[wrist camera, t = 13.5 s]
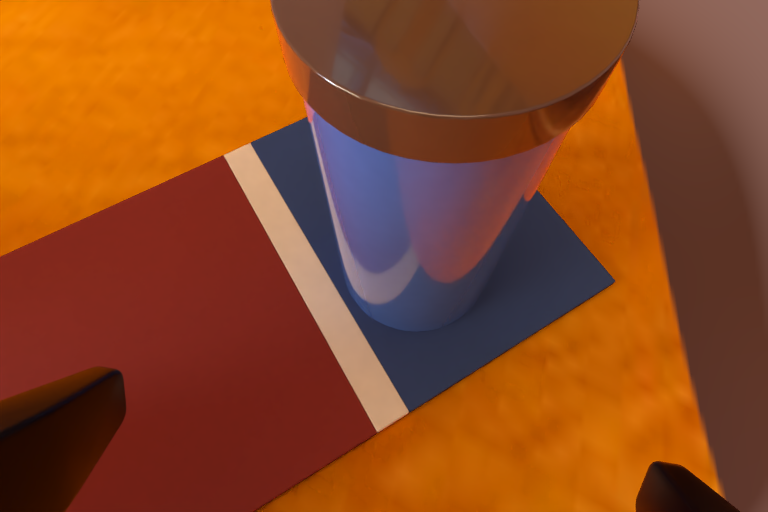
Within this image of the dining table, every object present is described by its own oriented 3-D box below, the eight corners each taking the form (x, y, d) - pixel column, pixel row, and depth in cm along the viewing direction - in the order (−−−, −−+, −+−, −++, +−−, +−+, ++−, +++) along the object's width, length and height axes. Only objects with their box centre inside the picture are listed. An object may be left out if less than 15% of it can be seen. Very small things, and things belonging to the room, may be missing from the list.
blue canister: (515, 313, 19) (715, 68, 8) (357, 355, 18) (308, 159, 7) (462, 181, 22) (548, -152, 10) (322, 214, 21) (243, -102, 9)
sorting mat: (611, 284, 20) (616, 281, 20) (-490, 983, 12) (-517, 998, 12) (426, 67, 25) (427, 61, 25) (-429, 459, 17) (-446, 459, 17)
